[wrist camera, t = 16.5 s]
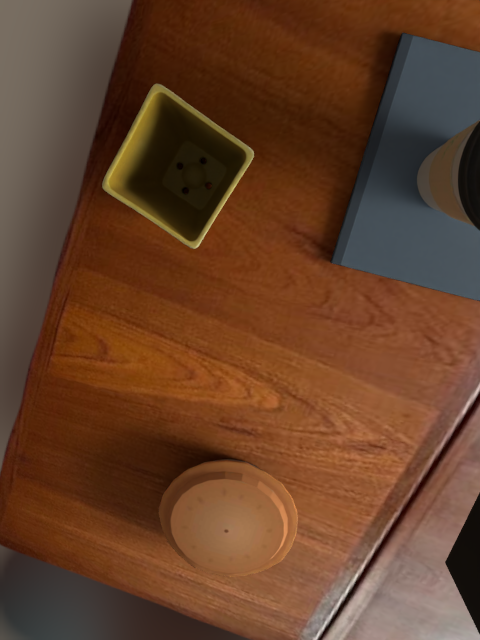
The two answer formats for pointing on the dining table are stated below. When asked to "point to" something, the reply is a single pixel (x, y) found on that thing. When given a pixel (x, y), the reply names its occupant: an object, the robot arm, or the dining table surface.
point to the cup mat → (414, 174)
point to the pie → (228, 518)
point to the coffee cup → (454, 177)
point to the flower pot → (161, 166)
